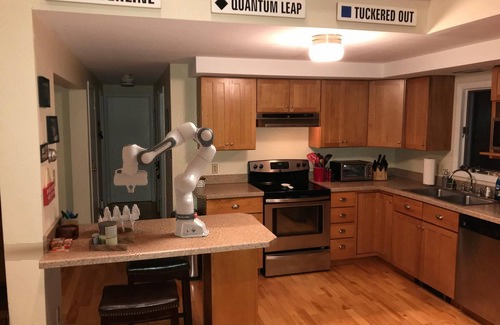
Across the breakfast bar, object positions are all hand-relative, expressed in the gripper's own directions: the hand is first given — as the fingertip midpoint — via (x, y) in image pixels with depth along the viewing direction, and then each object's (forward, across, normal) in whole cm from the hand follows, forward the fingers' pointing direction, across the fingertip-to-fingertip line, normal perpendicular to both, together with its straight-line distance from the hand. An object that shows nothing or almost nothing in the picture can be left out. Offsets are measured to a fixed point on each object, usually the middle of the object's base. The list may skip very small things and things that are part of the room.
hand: (131, 192), depth 245 cm
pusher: (+29, +17, +16) cm, 37 cm away
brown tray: (+29, +7, +16) cm, 34 cm away
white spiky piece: (+29, +13, -15) cm, 36 cm away
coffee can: (+29, +10, +16) cm, 35 cm away
